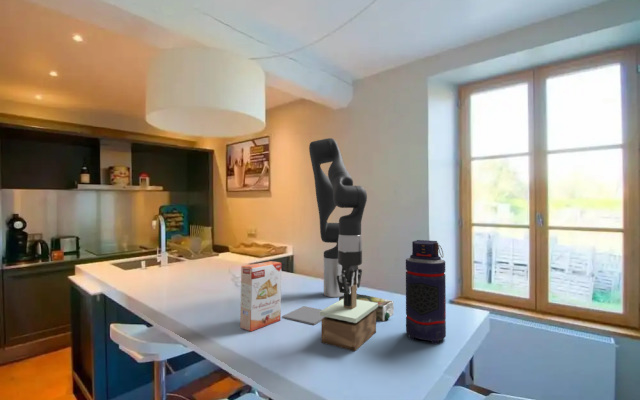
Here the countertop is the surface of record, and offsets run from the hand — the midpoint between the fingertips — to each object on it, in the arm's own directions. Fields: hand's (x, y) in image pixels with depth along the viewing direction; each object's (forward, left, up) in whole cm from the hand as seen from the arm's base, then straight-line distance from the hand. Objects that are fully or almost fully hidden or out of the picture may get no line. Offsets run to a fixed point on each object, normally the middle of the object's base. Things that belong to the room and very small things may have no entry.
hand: (350, 304), depth 101 cm
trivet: (-10, -22, -10) cm, 26 cm away
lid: (0, 0, -2) cm, 2 cm away
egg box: (0, 0, -10) cm, 10 cm away
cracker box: (+6, -31, -11) cm, 33 cm away
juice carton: (-24, -5, -11) cm, 27 cm away
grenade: (-14, +20, -11) cm, 26 cm away
